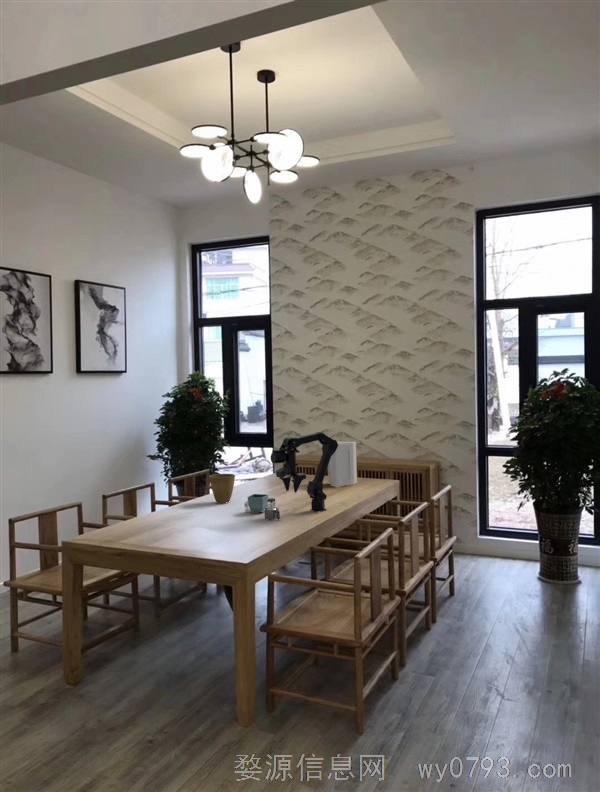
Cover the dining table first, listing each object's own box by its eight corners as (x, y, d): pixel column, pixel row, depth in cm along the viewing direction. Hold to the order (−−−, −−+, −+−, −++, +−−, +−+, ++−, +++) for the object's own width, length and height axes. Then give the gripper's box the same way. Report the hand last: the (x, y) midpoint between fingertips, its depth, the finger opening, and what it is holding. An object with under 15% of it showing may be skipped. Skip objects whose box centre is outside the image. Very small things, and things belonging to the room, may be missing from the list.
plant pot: (236, 504, 364) (235, 476, 364) (210, 505, 362) (209, 477, 361) (235, 499, 379) (234, 472, 378) (210, 500, 376) (209, 474, 376)
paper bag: (321, 486, 415) (319, 443, 414) (331, 482, 427) (330, 441, 427) (347, 488, 405) (346, 444, 404) (357, 484, 418) (356, 441, 417)
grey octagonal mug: (273, 516, 328) (273, 506, 328) (284, 519, 320) (284, 509, 320) (262, 518, 324) (262, 508, 323) (273, 521, 316) (273, 511, 316)
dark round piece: (272, 508, 326) (272, 497, 326) (278, 510, 322) (278, 498, 322) (264, 510, 323) (264, 499, 323) (270, 511, 319) (270, 500, 319)
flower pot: (263, 514, 334) (262, 497, 334) (247, 513, 337) (247, 496, 337) (269, 510, 342) (268, 494, 342) (254, 510, 345) (253, 493, 345)
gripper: (267, 461, 333) (268, 491, 333) (288, 465, 318) (289, 496, 318) (284, 459, 339) (285, 488, 340) (306, 462, 325) (307, 493, 325)
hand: (291, 491), depth 331 cm, fingers open, 7 cm apart
